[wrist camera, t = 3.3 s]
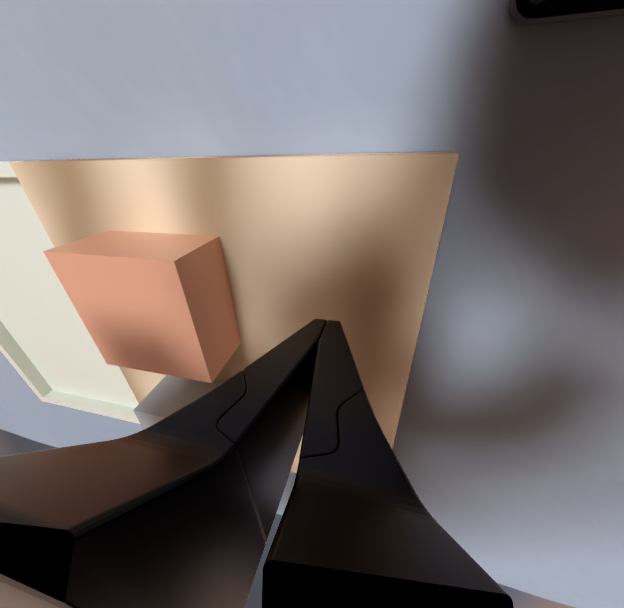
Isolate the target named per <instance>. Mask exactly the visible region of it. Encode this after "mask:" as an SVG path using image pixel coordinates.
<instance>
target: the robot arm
mask: <svg viewBox="0 0 624 608" xmlns="http://www.w3.org/2000/svg"><path fill="white" fill-rule="evenodd" d="M509 11H510V15H511V18H512V19H513V20H514V21H515V22H516V23H517V24H521V25H531V24H540V23H549V22H558V21H568V20H577V19H586V18H595V17H605V16H614V15H623V14H624V0H543V1H542V3H539V4H532V3H531V2H530V0H510V6H509ZM302 435H303V438H302ZM301 438H302V444H301V450H300V456H299V463H298V468H297V473H296V478H295V482H294V486H293V489H292V492H291V495H290V497H289V500H288V503H287V505H286V508H285V511H284V513H283V516H282V519H281V521H280V524H279V527H278V529H277V532H276V534H275V537H274V540H273V542H272V545H271V548H270V550H269V553H268V556H267V558H266V561H265V564H264V567H263V587H262V608H513V602H512V599H511V597H510V596H509V595H508V594H507V593H506V592H505V591H504V590H503V589H502V588H501V587H500V586H499V585H498V584H497V583H496V582H495V581H494V580H493V579H492V578H491V577H490V576H489V575H488V574H487V573H486V572H485V571H484V570H483V569H482V568H481V567H480V566H479V565H478V564H477V563H476V562H475V561H474V559H473V558H472V557H471V556H470V555H469V554H468V553H467V552H466V551H465V550H464V549H463V548H462V547H461V546H460V545H459V544H458V543H457V542H456V541H455V540H454V539H453V538H452V537H451V536H450V535H449V534H448V533H447V532H446V531H445V530H444V529H443V528H442V527H441V526H440V525H439V524H438V523H437V522H436V520H435V519H434V518H433V517H432V516H431V515H430V513H429V512H428V511H427V509H426V508H425V507H424V505H423V504H422V502H421V501H420V499H419V497H418V496H417V494H416V492H415V491H414V489H413V487H412V485H411V484H410V482H409V480H408V478H407V476H406V474H405V472H404V470H403V469H402V467H401V465H400V463H399V461H398V459H397V457H396V456H395V454H394V452H393V450H392V448H391V446H390V444H389V442H388V441H387V439H386V437H385V435H384V433H383V431H382V429H381V427H380V425H379V423H378V421H377V419H376V417H375V414H374V412H373V409H372V407H371V404H370V402H369V399H368V396H367V394H366V391H365V389H364V386H363V383H362V380H361V377H360V375H359V372H358V369H357V366H356V364H355V361H354V358H353V355H352V352H351V350H350V347H349V344H348V341H347V339H346V336H345V333H344V330H343V327H342V325H341V322H340V321H335V320H328V321H327V320H325V319H314V320H312V321H311V322H309V323H308V324H307V325H305V326H304V327H302V328H301V329H300V330H298V331H297V332H295V333H294V334H292V335H291V336H290V337H288V338H287V339H285V340H284V341H282V342H281V343H280V344H278V345H277V346H275V347H274V348H273V349H271V350H270V351H268V352H267V353H265V354H264V355H263V356H261V357H260V358H258V359H257V360H255V361H254V362H253V363H251V364H250V365H248V366H247V367H246V368H244V369H243V371H242V370H241V371H240V372H238V373H237V374H235V375H234V376H233V377H231V378H230V379H228V380H227V381H225V382H224V383H222V384H221V385H219V386H218V387H216V388H215V389H213V390H211V391H210V392H208V393H206V394H205V395H203V396H201V397H200V398H198V399H196V400H195V401H193V402H191V403H190V404H188V405H186V406H184V407H183V408H181V409H179V410H177V411H176V412H174V413H172V414H171V415H169V416H167V417H165V418H164V419H162V420H160V421H159V422H157V423H155V424H153V425H152V426H150V427H148V428H146V429H144V430H142V431H140V432H138V433H135V434H133V435H130V436H127V437H123V438H119V439H115V440H110V441H103V442H96V443H89V444H83V445H76V446H69V447H62V448H56V449H49V450H42V451H35V452H29V453H22V454H15V455H8V456H1V457H0V608H244V606H245V603H246V601H247V598H248V595H249V592H250V589H251V586H252V583H253V580H254V577H255V574H256V571H257V568H258V565H259V562H260V559H261V556H262V554H263V551H264V548H265V542H266V541H267V538H268V536H269V532H270V530H271V526H272V524H273V521H274V518H275V515H276V512H277V509H278V506H279V503H280V500H281V497H282V494H283V491H284V488H285V485H286V482H287V479H288V477H289V474H290V471H291V468H292V465H293V462H294V459H295V456H296V453H297V450H298V447H299V444H300V441H301Z"/></svg>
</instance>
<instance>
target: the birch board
mask: <svg viewBox="0 0 624 608" xmlns="http://www.w3.org/2000/svg"><path fill="white" fill-rule="evenodd" d="M459 154H460V153H452V152H400V153H353V154H306V155H259V156H212V157H165V158H118V159H71V160H45V161H25V162H9V163H10V165H11V167H12V169H13V171H14V173H15V175H16V176H17V178H18V180H19V182H20V184H21V186H22V188H23V189H24V191H25V193H26V195H27V197H28V199H29V201H30V202H31V204H32V206H33V208H34V210H35V212H36V214H37V215H38V217H39V219H40V221H41V223H42V225H43V227H44V228H45V230H46V232H47V234H48V236H49V238H50V240H51V241H52V243H53V245H54V247H58V246H61V245H65V244H68V243H71V242H74V241H77V240H81V239H84V238H87V237H90V236H93V235H96V234H100V233H103V232H106V231H128V232H149V233H169V234H189V235H209V236H219V237H220V242H221V247H222V252H223V256H224V261H225V266H226V271H227V276H228V281H229V286H230V291H231V295H232V300H233V305H234V310H235V315H236V320H237V325H238V329H239V334H240V339H241V344H240V345H239V346H238V348H237V349H236V351H235V352H234V353H233V355H232V356H231V357H230V359H229V360H228V361H227V363H226V364H225V366H224V367H223V368H222V370H221V371H220V372H219V374H218V375H217V377H216V378H215V379H214V381H216V382H222V383H224V382H225V381H227V380H228V379H230V378H231V377H233V376H234V375H235V374H237V373H238V372H240V371H241V370H242V371H243V369H244V368H246V367H247V366H248V365H250V364H251V363H253V362H254V361H255V360H257V359H258V358H260V357H261V356H263V355H264V354H265V353H267V352H268V351H270V350H271V349H273V348H274V347H275V346H277V345H278V344H280V343H281V342H282V341H284V340H285V339H287V338H288V337H290V336H291V335H292V334H294V333H295V332H297V331H298V330H300V329H301V328H302V327H304V326H305V325H307V324H308V323H309V322H311V321H312V320H314V319H325V320H327V321H328V320H335V321H340V322H341V325H342V327H343V330H344V333H345V336H346V339H347V341H348V344H349V347H350V350H351V352H352V355H353V358H354V361H355V364H356V366H357V369H358V372H359V375H360V377H361V380H362V383H363V386H364V389H365V391H366V394H367V396H368V399H369V402H370V404H371V407H372V409H373V412H374V414H375V417H376V419H377V421H378V423H379V425H380V427H381V429H382V431H383V433H384V435H385V437H386V439H387V441H388V442H389V444H390V446H391V448H392V449H393V445H394V440H395V436H396V431H397V427H398V422H399V418H400V414H401V409H402V405H403V400H404V396H405V392H406V387H407V383H408V378H409V374H410V370H411V365H412V361H413V356H414V352H415V348H416V343H417V339H418V334H419V330H420V326H421V321H422V317H423V312H424V308H425V303H426V299H427V295H428V290H429V286H430V281H431V277H432V273H433V268H434V264H435V259H436V255H437V251H438V246H439V242H440V237H441V233H442V229H443V224H444V220H445V215H446V211H447V206H448V202H449V198H450V193H451V189H452V184H453V180H454V176H455V171H456V167H457V162H458V158H459ZM119 368H120V369H121V371H122V373H123V375H124V377H125V379H126V381H127V382H128V384H129V386H130V388H131V390H132V392H133V394H134V395H135V397H136V399H137V401H138V403H140V402H141V401H142V400H143V399H144V398H145V397H146V396H147V395H148V394H149V393H150V392H151V391H152V390H153V389H154V388H155V386H156V385H157V384H158V383H159V382H160V381H161V380H162V379H163V378H164V377H165V376H166V375H164V374H159V373H153V372H148V371H142V370H137V369H131V368H126V367H120V366H119ZM302 438H303V435H302ZM302 438H301V441H300V444H299V447H298V450H297V453H296V456H295V459H294V462H293V465H292V468H291V471H290V472H293V473H297V468H298V463H299V456H300V450H301V444H302Z"/></svg>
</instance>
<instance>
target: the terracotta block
mask: <svg viewBox="0 0 624 608" xmlns="http://www.w3.org/2000/svg"><path fill="white" fill-rule="evenodd" d="M43 252H44V254H45V256H46V257H47V259H48V261H49V263H50V265H51V266H52V268H53V270H54V272H55V273H56V275H57V277H58V279H59V280H60V282H61V284H62V286H63V287H64V289H65V291H66V293H67V295H68V296H69V298H70V300H71V302H72V303H73V305H74V307H75V309H76V310H77V312H78V314H79V316H80V317H81V319H82V321H83V323H84V325H85V326H86V328H87V330H88V332H89V333H90V335H91V337H92V339H93V340H94V342H95V344H96V346H97V347H98V349H99V351H100V353H101V355H102V356H103V358H104V360H105V362H106V363H107V364H109V365H115V366H120V367H126V368H131V369H137V370H142V371H148V372H153V373H159V374H164V375H170V376H175V377H181V378H186V379H192V380H197V381H203V382H208V383H212V382H213V381H214V379H215V378H216V377H217V375H218V374H219V372H220V371H221V370H222V368H223V367H224V366H225V364H226V363H227V361H228V360H229V359H230V357H231V356H232V355H233V353H234V352H235V351H236V349H237V348H238V346H239V345H240V344H241V339H240V334H239V329H238V325H237V320H236V315H235V310H234V305H233V300H232V295H231V291H230V286H229V281H228V276H227V271H226V266H225V261H224V256H223V252H222V247H221V242H220V237H219V236H209V235H189V234H169V233H149V232H128V231H106V232H103V233H100V234H96V235H93V236H90V237H87V238H84V239H81V240H77V241H74V242H71V243H68V244H65V245H61V246H58V247H55V248H52V249H49V250H45V251H43Z"/></svg>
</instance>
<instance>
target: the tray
mask: <svg viewBox="0 0 624 608" xmlns="http://www.w3.org/2000/svg"><path fill="white" fill-rule="evenodd" d="M25 161H45V160H24V161H0V351H1V352H2V353H3V354H4V356H5V357H6V358H7V359H8V360H9V362H10V363H11V364H12V365H13V367H14V368H15V369H16V370H17V371H18V373H19V374H20V375H21V376H22V378H23V379H24V380H25V381H26V383H27V384H28V385H29V386H30V387H31V389H32V390H33V391H34V392H35V394H36V395H37V396H38V397H39V398H40V400H41V401H44V402H48V403H53V404H57V405H61V406H66V407H70V408H74V409H78V410H83V411H87V412H91V413H96V414H100V415H104V416H108V417H113V418H117V419H121V420H126V421H130V422H134V423H139V424H141V423H140V422H139V420H138V418H137V416H136V415H135V413H134V411H133V410H134V409H135V408H136V406H137V405H138V404H139V403H138V401H137V399H136V397H135V395H134V394H133V392H132V390H131V388H130V386H129V384H128V382H127V381H126V379H125V377H124V375H123V373H122V371H121V369H120V368H119V366H115V365H109V364H107V363H106V362H105V360H104V358H103V356H102V355H101V353H100V351H99V349H98V347H97V346H96V344H95V342H94V340H93V339H92V337H91V335H90V333H89V332H88V330H87V328H86V326H85V325H84V323H83V321H82V319H81V317H80V316H79V314H78V312H77V310H76V309H75V307H74V305H73V303H72V302H71V300H70V298H69V296H68V295H67V293H66V291H65V289H64V287H63V286H62V284H61V282H60V280H59V279H58V277H57V275H56V273H55V272H54V270H53V268H52V266H51V265H50V263H49V261H48V259H47V257H46V256H45V254H44V252H43V251H45V250H49V249H52V248H55V247H54V245H53V243H52V241H51V240H50V238H49V236H48V234H47V232H46V230H45V228H44V227H43V225H42V223H41V221H40V219H39V217H38V215H37V214H36V212H35V210H34V208H33V206H32V204H31V202H30V201H29V199H28V197H27V195H26V193H25V191H24V189H23V188H22V186H21V184H20V182H19V180H18V178H17V176H16V175H15V173H14V171H13V169H12V167H11V165H10V163H9V162H25Z"/></svg>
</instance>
